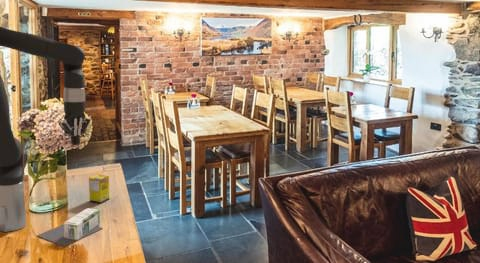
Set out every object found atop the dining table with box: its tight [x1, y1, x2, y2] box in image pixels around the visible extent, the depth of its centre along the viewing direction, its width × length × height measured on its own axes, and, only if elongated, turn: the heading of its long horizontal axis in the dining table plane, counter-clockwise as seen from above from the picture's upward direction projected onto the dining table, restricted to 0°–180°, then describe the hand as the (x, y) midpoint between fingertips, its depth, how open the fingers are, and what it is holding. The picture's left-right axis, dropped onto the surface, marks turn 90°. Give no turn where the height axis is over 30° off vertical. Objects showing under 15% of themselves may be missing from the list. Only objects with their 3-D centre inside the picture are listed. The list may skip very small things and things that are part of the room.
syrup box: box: [62, 207, 101, 241], centre depth 153 cm, size 6×6×14 cm
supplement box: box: [88, 173, 110, 204], centre depth 182 cm, size 6×6×11 cm
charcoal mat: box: [36, 224, 103, 248], centre depth 153 cm, size 17×14×1 cm
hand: (75, 144), depth 161 cm, fingers closed
